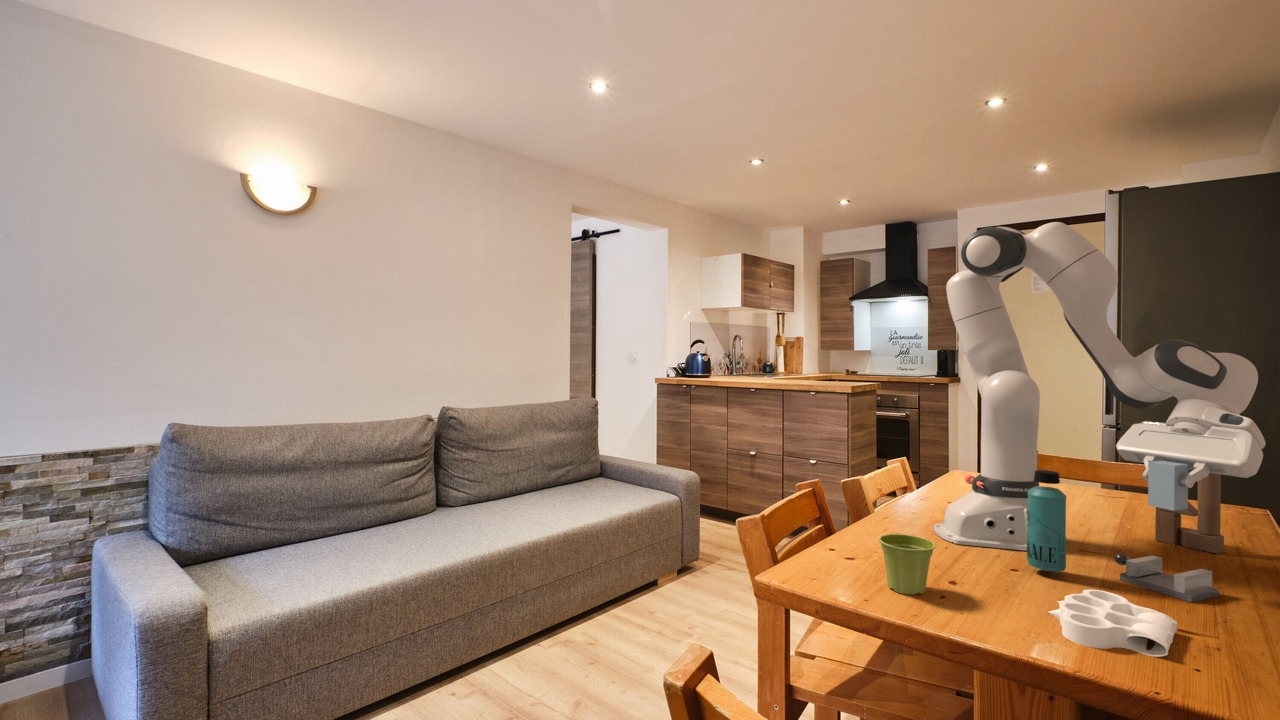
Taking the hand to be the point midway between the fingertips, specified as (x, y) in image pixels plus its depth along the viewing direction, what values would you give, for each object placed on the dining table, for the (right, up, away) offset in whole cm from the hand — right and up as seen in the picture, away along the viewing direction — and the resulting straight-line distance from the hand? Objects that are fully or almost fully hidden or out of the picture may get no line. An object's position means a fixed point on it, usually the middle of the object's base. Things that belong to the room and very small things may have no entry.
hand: (1165, 482), depth 107 cm
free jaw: (-1, -18, +6) cm, 19 cm away
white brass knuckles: (-23, -20, -16) cm, 35 cm away
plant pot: (-47, -19, 0) cm, 51 cm away
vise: (+1, -19, 0) cm, 19 cm away
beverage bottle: (-17, -19, +7) cm, 27 cm away
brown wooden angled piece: (+26, -19, +24) cm, 40 cm away
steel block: (+1, -5, 0) cm, 5 cm away
